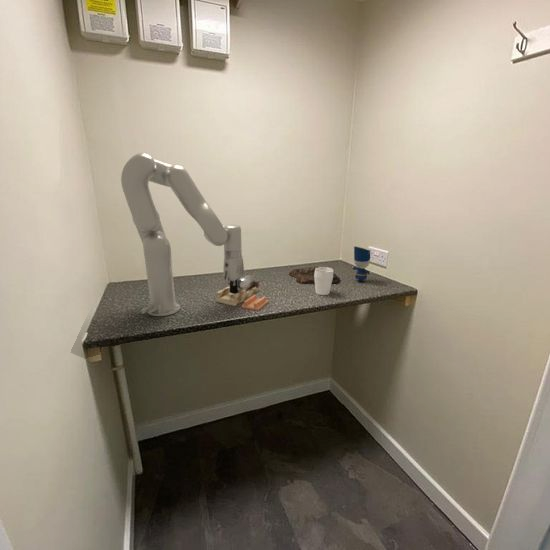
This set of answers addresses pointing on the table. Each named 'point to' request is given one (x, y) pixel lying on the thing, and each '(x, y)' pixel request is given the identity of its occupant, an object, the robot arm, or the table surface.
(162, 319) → the table surface
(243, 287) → the grey metal cylinder
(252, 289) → the beige elongated piece
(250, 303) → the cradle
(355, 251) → the figurine
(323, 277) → the cup
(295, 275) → the stone relief
